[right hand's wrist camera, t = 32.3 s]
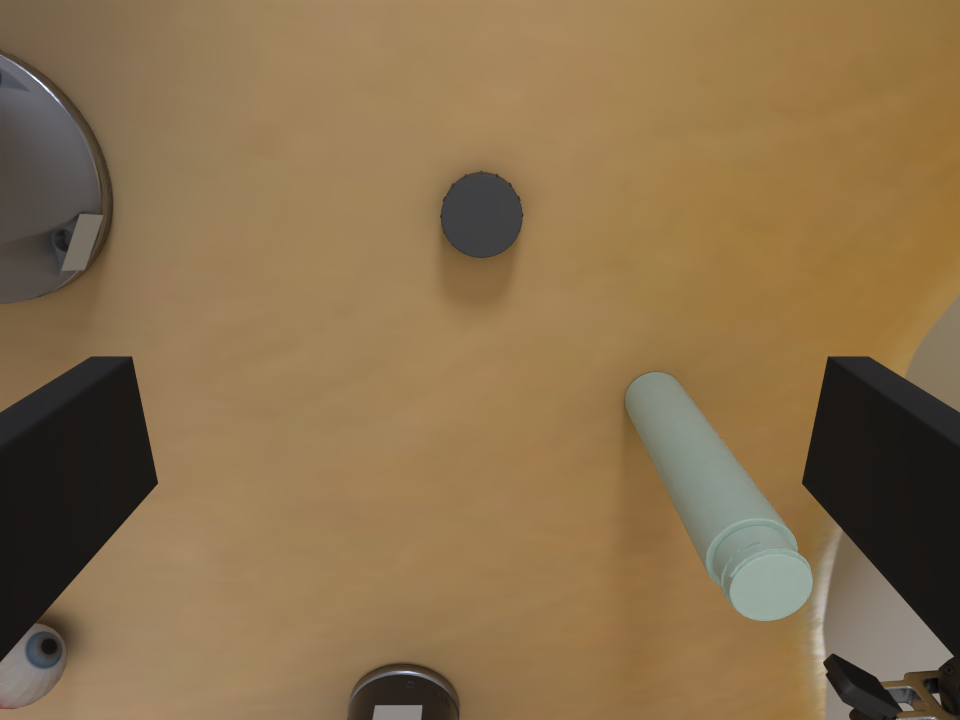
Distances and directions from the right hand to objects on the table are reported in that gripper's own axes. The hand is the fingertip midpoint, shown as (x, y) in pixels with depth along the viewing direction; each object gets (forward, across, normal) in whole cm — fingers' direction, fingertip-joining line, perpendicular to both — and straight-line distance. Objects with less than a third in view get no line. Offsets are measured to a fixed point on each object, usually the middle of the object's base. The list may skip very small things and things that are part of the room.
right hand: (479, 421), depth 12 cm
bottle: (+30, +12, -13) cm, 35 cm away
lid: (+28, 0, 0) cm, 28 cm away
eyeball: (+30, -35, -34) cm, 58 cm away
